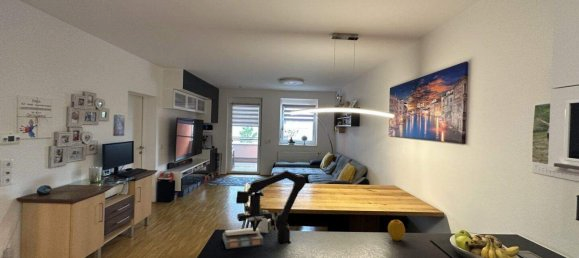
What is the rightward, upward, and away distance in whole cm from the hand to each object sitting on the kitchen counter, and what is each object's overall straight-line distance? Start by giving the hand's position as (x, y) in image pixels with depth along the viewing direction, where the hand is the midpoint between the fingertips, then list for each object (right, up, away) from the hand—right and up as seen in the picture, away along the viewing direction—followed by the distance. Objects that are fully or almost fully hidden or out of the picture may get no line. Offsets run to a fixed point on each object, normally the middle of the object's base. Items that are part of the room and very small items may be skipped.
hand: (254, 231), depth 170 cm
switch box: (-6, -6, 0) cm, 9 cm away
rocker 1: (-12, -2, -1) cm, 13 cm away
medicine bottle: (+4, -6, +18) cm, 20 cm away
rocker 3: (-1, -2, +3) cm, 4 cm away
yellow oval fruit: (+82, -8, +10) cm, 83 cm away
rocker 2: (-7, -2, +1) cm, 7 cm away
